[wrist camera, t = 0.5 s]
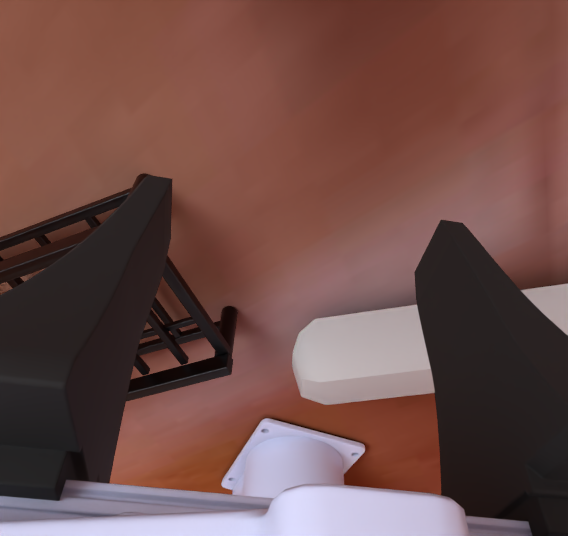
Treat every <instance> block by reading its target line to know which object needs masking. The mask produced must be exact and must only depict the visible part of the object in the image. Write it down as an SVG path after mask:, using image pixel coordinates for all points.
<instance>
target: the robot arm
mask: <svg viewBox="0 0 568 536" xmlns="http://www.w3.org/2000/svg"><path fill="white" fill-rule="evenodd" d="M171 205H172V179H170V178H163V177H157V176H150V175H148V176H146V177H145V178H144V179H143V180H142V181H141V182H140V184H139V185H138V186H137V187H136V188H135V190H134V191H133V192H132V193H131V194H130V195H129V196H128V198H127V199H126V200H125V201H124V202H123V203H122V204H121V205H120V206H119V207H118V208H117V209H116V210H115V211H114V212H113V213H112V214H111V215H110V216H109V217H108V218H107V219H106V220H105V221H104V222H103V223H102V224H101V225H100V226H99V227H98V228H97V229H96V230H94V231H93V232H92V233H91V234H90V235H89V236H88V237H87V238H85V239H84V240H83V241H82V242H81V243H80V244H78V245H77V246H76V247H75V248H73V249H72V250H71V251H70V252H68V253H67V254H66V255H64V256H63V257H62V258H60V259H59V260H57V261H56V262H55V263H53V264H52V265H50V266H49V267H47V268H46V269H44V270H43V271H41V272H40V273H38V274H37V275H35V276H33V277H32V278H30V279H29V280H27V281H25V282H24V283H22V284H20V285H18V286H17V287H15V288H13V289H11V290H9V291H7V292H5V293H3V294H2V295H0V536H568V335H567V334H565V333H564V332H563V331H562V330H561V329H560V328H559V327H558V326H556V325H555V324H554V323H553V322H552V321H551V320H550V319H549V318H548V317H546V316H545V315H544V314H543V313H542V312H541V311H540V310H539V309H538V308H537V307H536V306H535V305H534V304H533V303H532V302H531V301H530V300H529V299H528V298H527V297H526V296H525V294H524V293H523V292H522V291H521V290H520V289H519V288H518V287H517V286H516V285H515V284H514V283H513V282H512V280H511V279H510V278H509V277H508V276H507V275H506V274H505V272H504V271H503V270H502V269H501V268H500V267H499V265H498V264H497V263H496V262H495V261H494V259H493V258H492V257H491V256H490V255H489V253H488V252H487V251H486V250H485V249H484V247H483V246H482V245H481V244H480V243H479V241H478V240H477V239H476V238H475V237H474V235H473V234H472V233H471V232H470V231H469V230H468V228H467V227H466V226H465V225H464V224H463V223H459V222H452V221H446V220H441V221H440V223H439V225H438V227H437V229H436V231H435V233H434V235H433V237H432V239H431V241H430V243H429V245H428V247H427V249H426V251H425V253H424V255H423V257H422V259H421V261H420V263H419V265H418V267H417V269H416V271H415V287H416V300H417V308H418V313H419V318H420V322H421V327H422V332H423V336H424V341H425V345H426V350H427V354H428V359H429V363H430V368H431V372H432V378H433V383H434V390H435V400H436V409H437V419H438V433H439V446H440V467H441V495H436V494H432V493H423V492H412V491H402V490H391V489H381V488H370V487H360V486H349V485H344V474H345V473H346V471H347V470H348V469H349V468H350V467H351V466H352V465H353V464H354V463H355V462H356V461H357V460H358V459H359V457H360V456H361V455H362V454H363V453H364V452H365V445H364V444H362V443H359V442H355V441H352V440H348V439H344V438H340V437H337V436H333V435H329V434H326V433H322V432H318V431H314V430H311V429H307V428H303V427H300V426H296V425H292V424H288V423H285V422H281V421H277V420H273V419H269V418H266V419H263V420H262V421H261V422H260V424H259V425H258V427H257V428H256V430H255V431H254V433H253V434H252V436H251V437H250V439H249V440H248V442H247V443H246V445H245V446H244V448H243V449H242V451H241V452H240V454H239V455H238V457H237V458H236V460H235V461H234V463H233V464H232V466H231V467H230V469H229V470H228V472H227V474H226V475H225V477H224V478H223V480H222V487H224V488H227V489H231V490H233V493H232V495H231V494H220V493H209V492H198V491H187V490H176V489H165V488H154V487H143V486H132V485H121V484H110V483H109V481H110V476H111V471H112V466H113V460H114V455H115V450H116V445H117V440H118V436H119V431H120V426H121V421H122V416H123V411H124V407H125V402H126V398H127V393H128V388H129V384H130V379H131V375H132V371H133V366H134V362H135V357H136V353H137V350H138V346H139V343H140V339H141V336H142V333H143V330H144V327H145V325H146V322H147V319H148V316H149V313H150V310H151V307H152V304H153V301H154V298H155V296H156V293H157V290H158V287H159V284H160V281H161V278H162V275H163V272H164V268H165V263H166V258H167V254H168V249H169V244H170V239H171Z"/></svg>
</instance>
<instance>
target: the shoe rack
mask: <svg viewBox="0 0 568 536" xmlns="http://www.w3.org/2000/svg"><path fill="white" fill-rule="evenodd" d="M146 176H148V174H141V175H139V176H138V177H137V179H136V181H135V183H134V185H133V187H132V188H130V189H127V190H124V191H122V192H119V193H117V194H114V195H111V196H109V197H106V198H103V199H101V200H98V201H95V202H93V203H90V204H87V205H85V206H82V207H80V208H77V209H74V210H72V211H69V212H66V213H64V214H61V215H58V216H56V217H53V218H50V219H48V220H45V221H42V222H40V223H37V224H35V225H32V226H29V227H27V228H24V229H21V230H19V231H16V232H13V233H11V234H8V235H5V236H3V237H0V251H1V250H4V249H6V248H9V247H12V246H15V245H17V244H20V243H23V242H25V241H28V240H31V239H33V238H35V240H36V241H37V242H38V243H39V244H40V245H41V247H39V248H36V249H33V250H31V251H28V252H25V253H22V254H20V255H17V256H14V257H11V258H9V259H6V260H4V259H3V258H2V257H1V256H0V284H1V283H4V282H7V283H8V284H9V285H10V286H11V287H12V288H15V287H17V286H18V285H20V284H22V283H24V281H23V280H22V279H21V278H20V277H21V276H24V275H27V274H30V273H33V272H36V271H38V270H41V269H44V268H47V267H49V266H50V265H52V264H53V263H55V262H56V261H57V260H59V259H60V258H62V257H63V256H64V255H66V254H67V253H68V252H70V251H71V250H72V249H73V248H75V247H76V246H77V245H78V244H80V243H81V242H82V241H83V240H84V239H85V238H87V237H88V236H89V235H90V234H91V233H92V232H93V231H94V230H96V229H97V228H98V227H99V226H100V225H101V224H100V222H99V221H98V220H97V218H96V217H95V216H96V215H98V214H101V213H104V212H106V211H109V210H112V209H114V208H117V207H119V206H120V205H121V204H122V203H123V202H124V201H125V200H126V199H127V198H128V196H129V195H130V194H131V193H132V192H133V191H134V190H135V188H136V187H137V186H138V185H139V184H140V182H141V181H142V180H143V179H144V178H145V177H146ZM82 220H86V222H87V223H88V224H89V226H90V227H91V229H89V230H86V231H83V232H80V233H77V234H75V235H72V236H69V237H66V238H64V239H61V240H58V241H55V242H53V243H51V242H50V241H49V240H48V238H47V237H46V236H45V235H44V234H47V233H50V232H52V231H55V230H58V229H60V228H63V227H66V226H69V225H71V224H74V223H77V222H79V221H82ZM162 276H163V278H164V279H165V281H166V282H167V283H168V285H169V286H170V288H171V289H172V290H173V292H174V293H175V295H176V296H177V297H178V299H179V300H180V302H181V303H182V304H183V306H184V307H185V309H186V310H187V311H188V313H189V314H190V316H191V317H188V318H185V319H182V320H178V321H175V322H174V321H173V320H172V319H171V317H170V316H169V315H168V313H167V312H166V311H165V309H164V308H163V307H162V305H161V304H160V303H159V301H158V300H157V299H156V297H155V298H154V301H153V304H152V308H153V309H154V311H155V312H156V313H157V314H158V316H159V317H160V318H161V320H162V321H163V322H164V324H165V325H163V324H162V323H161V321H160V320H159V319H158V317H157V316H156V315H155V313H154V312H153V311H152V310H150V313H149V316H148V319H147V322H148V323H149V325H150V326H151V327H152V328H151V329H148V330H144V331H143V333H142V336H141V339H144V338H147V337H151V336H154V335H158V336H159V337H160V338H159V339H155V340H152V341H148V342H145V343H141V344H139V346H138V350H137V353H136V357H135V362H134V366H135V367H136V368H137V369H138V370H139V372H140V373H141V374H142V375H146V374H149V371H150V368H149V367H148V365H147V364H146V363H145V362H144V361H143V359H142V358H141V357H140V355H144V354H147V353H151V352H154V351H158V350H161V349H165V348H168V349H169V350H170V351H171V352H172V354H173V355H174V356H175V357H176V359H177V360H178V361H179V362H180V364H181V365H183V364H187V363H188V359H189V358H188V356H187V355H186V354H185V352H184V351H183V350H182V349H181V347H180V346H179V344H183V343H186V342H190V341H193V340H197V339H200V338H204V337H206V338H207V339H208V341H209V342H210V344H211V345H212V347H213V348H214V349H215V357H213V358H209V359H205V360H202V361H198V362H194V363H190V364H187V365H183V366H179V367H176V368H172V369H168V370H164V371H161V372H157V373H153V374H150V375H146V376H142V377H139V378H135V379H131V380H130V384H129V388H128V393H127V398H126V401H130V400H134V399H138V398H142V397H145V396H149V395H153V394H157V393H161V392H165V391H169V390H173V389H176V388H180V387H184V386H188V385H192V384H196V383H200V382H204V381H208V380H211V379H215V378H219V377H223V376H227V375H231V372H232V365H233V359H232V352H233V344H234V336H235V329H236V321H237V314H238V312H237V310H236V308H234V307H232V306H227V307H225V308H223V310H222V314H221V320H220V321H218V322H214V323H213V321H212V320H211V318H210V317H209V316H208V314H207V313H206V311H205V310H204V308H203V307H202V305H201V304H200V302H199V301H198V299H197V298H196V297H195V295H194V294H193V292H192V291H191V289H190V288H189V286H188V285H187V283H186V282H185V280H184V279H183V278H182V276H181V275H180V273H179V272H178V270H177V269H176V267H175V266H174V264H173V263H172V261H171V260H170V259H169V257H168V256H167V258H166V263H165V268H164V272H163V275H162ZM195 323H196V324H197V325H198V327H197V328H193V329H190V330H187V331H183V332H181V331H180V329H179V328H182V327H185V326H188V325H192V324H195ZM168 331H171V333H172V334H173V335H171V334H170V333H169V332H168Z"/></svg>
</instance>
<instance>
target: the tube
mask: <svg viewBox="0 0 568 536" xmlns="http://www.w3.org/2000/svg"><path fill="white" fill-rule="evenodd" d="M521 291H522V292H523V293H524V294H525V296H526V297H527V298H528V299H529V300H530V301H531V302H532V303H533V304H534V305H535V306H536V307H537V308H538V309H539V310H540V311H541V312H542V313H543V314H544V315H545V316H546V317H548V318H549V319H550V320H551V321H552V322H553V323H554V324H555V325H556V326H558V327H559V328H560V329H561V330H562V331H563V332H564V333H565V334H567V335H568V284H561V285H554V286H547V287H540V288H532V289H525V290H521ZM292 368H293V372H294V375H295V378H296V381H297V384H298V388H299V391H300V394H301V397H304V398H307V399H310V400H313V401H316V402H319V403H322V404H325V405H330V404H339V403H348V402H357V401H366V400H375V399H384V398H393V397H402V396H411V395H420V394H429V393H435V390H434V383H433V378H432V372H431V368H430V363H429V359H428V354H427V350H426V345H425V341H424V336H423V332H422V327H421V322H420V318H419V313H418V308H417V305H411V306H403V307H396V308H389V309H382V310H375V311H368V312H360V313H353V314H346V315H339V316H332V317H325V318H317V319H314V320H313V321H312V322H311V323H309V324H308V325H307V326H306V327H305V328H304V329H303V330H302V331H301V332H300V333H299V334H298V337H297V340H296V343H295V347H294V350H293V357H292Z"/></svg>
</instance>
